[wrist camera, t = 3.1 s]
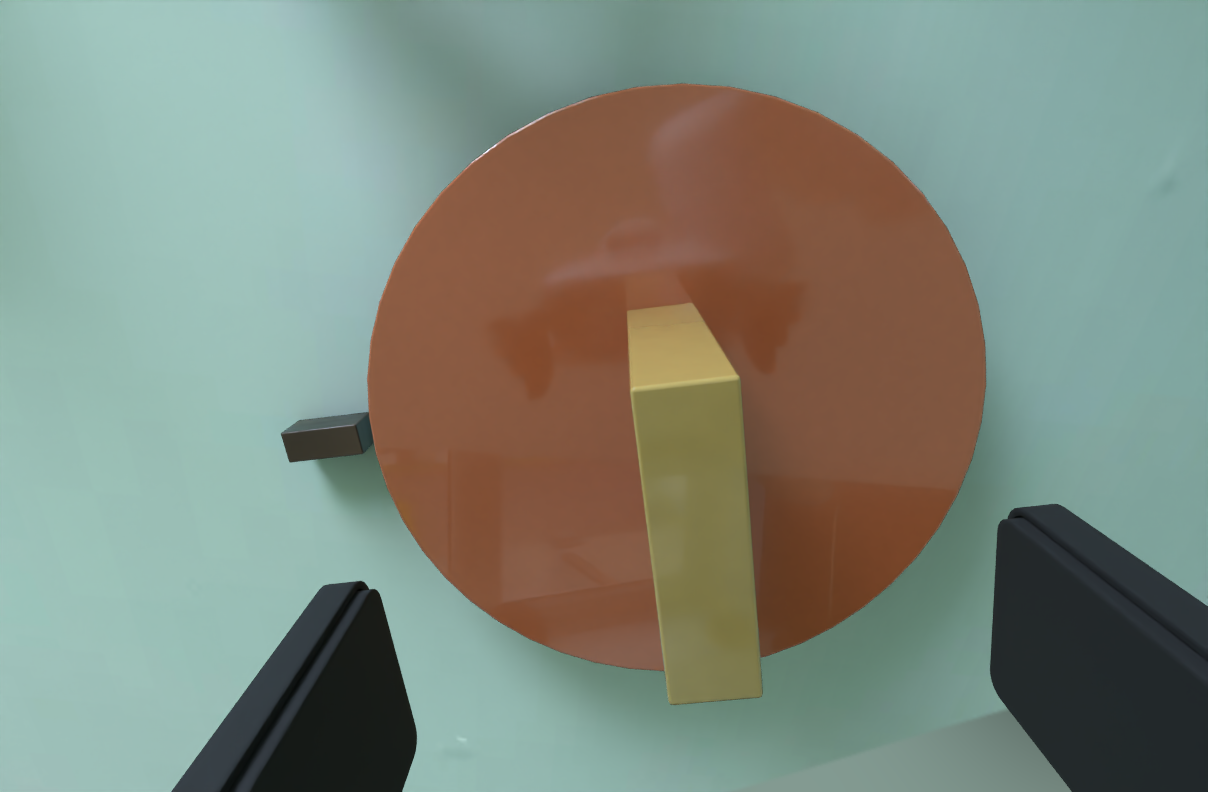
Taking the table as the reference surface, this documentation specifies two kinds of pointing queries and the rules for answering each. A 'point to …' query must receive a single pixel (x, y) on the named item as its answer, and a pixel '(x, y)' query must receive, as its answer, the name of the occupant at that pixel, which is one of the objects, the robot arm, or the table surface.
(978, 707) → the table surface
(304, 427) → the dark grey rectangular block
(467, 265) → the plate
